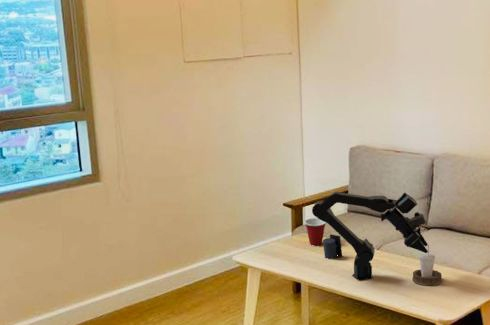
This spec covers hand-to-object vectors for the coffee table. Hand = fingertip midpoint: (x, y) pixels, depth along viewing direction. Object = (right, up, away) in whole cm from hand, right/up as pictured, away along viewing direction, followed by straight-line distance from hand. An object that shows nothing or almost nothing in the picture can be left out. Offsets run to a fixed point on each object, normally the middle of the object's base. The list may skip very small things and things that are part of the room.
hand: (427, 248), depth 253 cm
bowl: (+1, -13, +2) cm, 13 cm away
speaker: (-33, -9, +37) cm, 50 cm away
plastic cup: (-38, -6, +58) cm, 69 cm away
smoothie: (0, -13, +2) cm, 13 cm away
